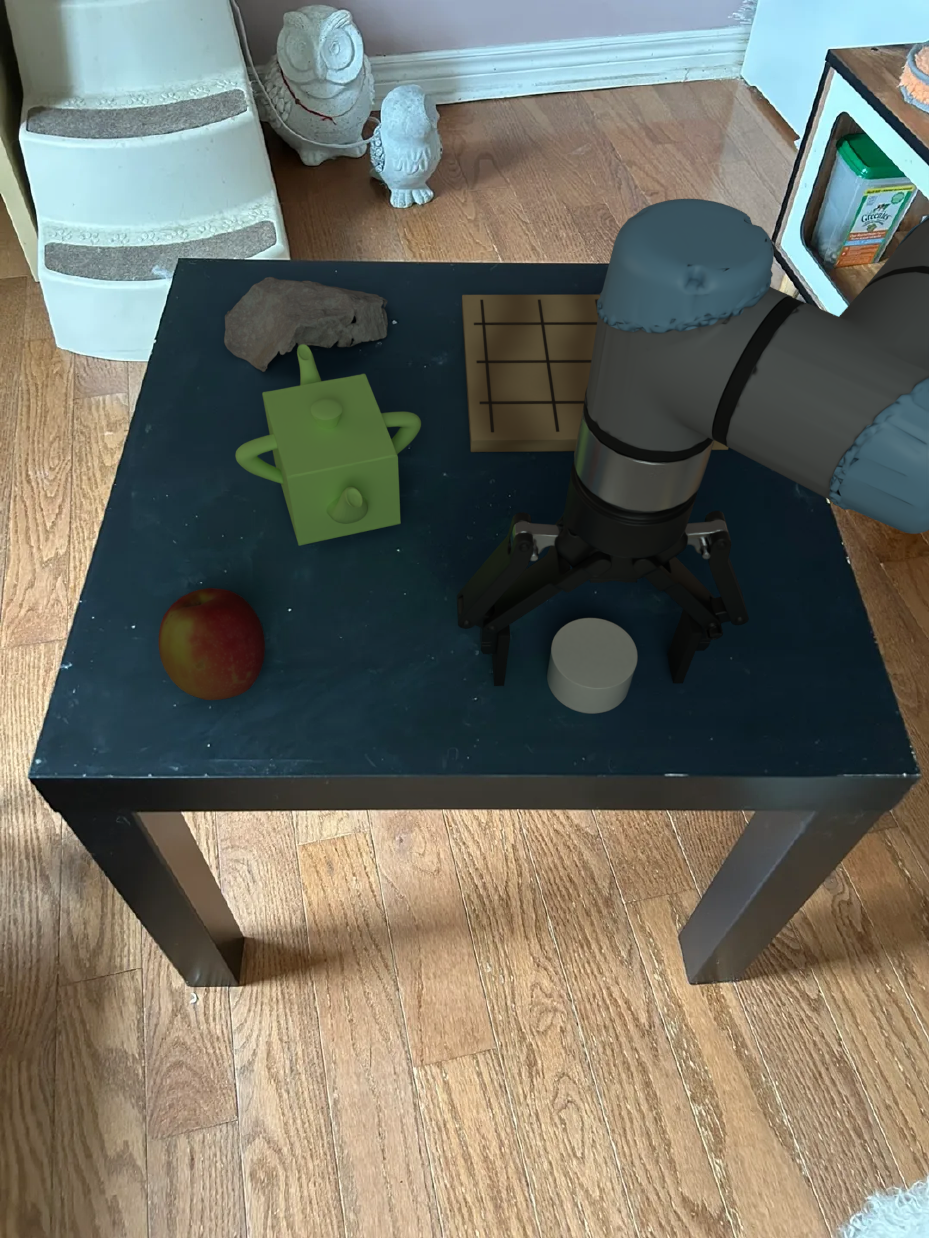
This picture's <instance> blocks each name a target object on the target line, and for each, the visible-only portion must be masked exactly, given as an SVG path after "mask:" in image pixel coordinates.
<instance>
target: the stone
mask: <svg viewBox="0 0 929 1238" xmlns="http://www.w3.org/2000/svg"><path fill="white" fill-rule="evenodd" d="M387 304H388V300H387V299H386V298H385V297H383V296H380V295H379V294H374V293H367V292H365V291H362V290H361V291H360V290H354V289H353V290H352V289H348V288H343V287H339V286H329V285H325V284H322V283H320V282H317V281H311V280H310V279H309V280H302V281H299V280H292V279H278V278H276V277H273V276H269V277H264V278H263V279H262V280H261V281H259V282H257V283H254V284H253V285H251V287H250V288H249V290H248V291H247V292H246V293H245V295H242V297H241V298H240V299H239V300H238V302H237V303H236V304H235V305H234V306H233V308H232V309H231V310H227V312H226V313H225V314H224V327H225V331H224V337H223V343H224V345H225V347H226V349H227V350H228V351H229V352H230V353H232V354H233V355H234V356H235V357H237V358H240V359H242V360H245V361H247V362H248V363H249V364H250V365H251V366H253V367H254V368H256V369H257V370H259V371H261V372H262V373H264V372H266V371H267V370H268V368H269V367H268V365H269V364H270V362H271V361H272V360H273V359H274V358H275V357H276V356H277V354H278V353H279V354H280V355H282V356H283V355H285V354H286V353H290V352H292V350H293V348H294V347H295V346H296V344H297V347H299V346H300V345H302V344H304V345H306V346H314V347H315V346H317V347H321V348H326V349H330V348H332V347H333V346H334V345H335V344H336V343H337V344H336V346H337V348H346V347H347V348H351V347H354V346H355V345H358V344H361V343H362V342H363V343H365V342H367V343H369V342H371V341H372V342H374V341H378V340H382V339H385V338H386V337H387V336H388V327H389V326H388V325H389V324H388V316H387V312H386V305H387ZM382 306H383V307H382ZM354 318H355V320H356V321H355V322H354V323H353V320H354ZM352 339H353V340H352Z"/></svg>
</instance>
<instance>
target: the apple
mask: <svg viewBox="0 0 929 1238" xmlns="http://www.w3.org/2000/svg"><path fill="white" fill-rule="evenodd" d="M159 625H160V626H159V630H158V643H157V644H158V645H157V646H158V652H159V658H160V661H161V664H162V666H163V669H164V671H165V672H166V674H167V676H168V678H169V679H170V680H171V681H172V683H173V684H175V685H176V686H177V687H178V688H179V689H180V690H181V691H183V692H184V693H185V694H187V695H190V696H192V697H195V698H198V699H200V700H205V701H219V700H227V699H231V698H234V697H237V696H241V695H243V694H244V693H246V692H248V690H250V689H251V687H252V686H253V685H254V684H255V683H256V681H257V679H258V677H259V676H260V673H261V671H262V669H263V666H264V665H263V664H264V661H265V656H266V638H265V633H264V628H263V625H262V622H261V620H260V618H259V616H258V614H257V613H256V610H255V609H254V608H253V606H252V605H251V604H250V603H249V602H248V600H246V599H245V598H244V597H243V596H241V595H240V594H238V593H236V592H234V591H231V590H228V589H225V588H214V587H207V588H200V589H197V590H193V591H190V592H189V593H187V594H185V595H182V596H181V597H179V598H178V599H177V600H175V602H173V603H172V604H171V605H170V606H169V608H168V609H167V610H166V612H165V613H164V615H163V616H162V619H161V622H160V624H159Z"/></svg>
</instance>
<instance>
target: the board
mask: <svg viewBox="0 0 929 1238" xmlns="http://www.w3.org/2000/svg"><path fill="white" fill-rule="evenodd" d="M599 298H600V294H462V295H461V317H462V318H461V319H462V335H463V349H464V364H465V380H466V381H465V383H466V397H467V398H466V399H467V414H468V429H469V431H468V432H469V446H470V447H469V448H470V449H469V450H470V452H471V453H508V452H509V453H510V452H511V453H513V452H515V453H517V452H520V453H521V452H523V453H524V452H526V453H527V452H528V453H529V452H530V453H531V452H575V447H576V442H577V437H578V432H579V426H580V421H581V416H582V411H583V406H584V399H585V392H586V389H587V387H588V380H589V373H590V367H591V360H592V354H593V347H594V340H595V334H596V327H597V321H598V313H597V300H598V299H599ZM728 450H729V447H726V446H725V445H723V444H721V443H719V442H717V441H714V444H713V447H712V450H711V451H728Z"/></svg>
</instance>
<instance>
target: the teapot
mask: <svg viewBox="0 0 929 1238" xmlns="http://www.w3.org/2000/svg"><path fill="white" fill-rule="evenodd" d="M296 350H297V351H296V354H297V359H298V360H297V361H298V364H299V374H300V382H299V383H300V384H299V385H296V386H291V387H285V388H280V389H275V390H269V391H263V392H262V399H263V405H264V411H265V416H266V423H267V427H268V433H269V434H268V435H264V436H260V437H257V438H254V439H251V440H249V441H246V442H244V443H243V444H242V445H240V446H239V447H238V448H237V449H236V451H235V460H236V462H237V463H238V464H239V465H240V467H241V468H242V469H244V470H246V471H247V472H249V473H250V474H252V475H254V476H257V477H259V478H262V479H266V480H269V481H272V482H275V483H278V484H280V485H281V490H282V491H283V496H284V500H285V503H286V507H287V510H288V513H289V518H290V521H291V524H292V528H293V531H294V535H295V537H296V541H297V545H298V546H304V545H308V544H313V543H318V542H322V541H327V540H332V539H335V538H340V537H346V536H350V535H355V534H359V533H360V534H361V533H364V532H367V531H373V530H377V529H382V528H386V527H392V526H396V525H401V503H400V502H401V501H400V477H399V474H400V473H399V453H401V452H402V451H403V450H404V449H405V448H406V447H408V446H409V445H410V444H411V443H412V441H413V440H414V439H415V438H416V437H417V435H418V433H419V432H420V430H421V428H422V421H421V418H420V417H419V415H418V414H416V413H414V412H410V411H390V412H381V409H380V407H379V405H378V402H377V400H376V398H375V395H374V392H373V389H372V387H371V385H370V382H369V379H368V377H367V375H366V373H361V374H355V375H351V376H346V377H340V378H334V379H328V380H322V378H321V376H320V373H319V371H318V368H317V365H316V362H315V358H314V354H313V353H312V350H311V349H310V347H309V345H304V344H302V345H300V346H297V349H296ZM395 427H396V428H397V427H398V428H399V429H398V430H397V432H396V433H395V434H394V435H393V437H392V438H391V436H390V435H391V434H390V432H389V431H388V428H395ZM270 451H272V455H273V461H274V464H275V466H274V465H271V464H269V463H267V462H266V461H265V460H263V459H262V458H260V457H259V455H262V454H264V453H268V452H270Z"/></svg>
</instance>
